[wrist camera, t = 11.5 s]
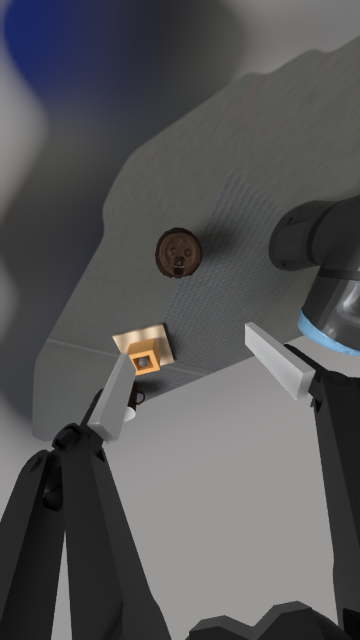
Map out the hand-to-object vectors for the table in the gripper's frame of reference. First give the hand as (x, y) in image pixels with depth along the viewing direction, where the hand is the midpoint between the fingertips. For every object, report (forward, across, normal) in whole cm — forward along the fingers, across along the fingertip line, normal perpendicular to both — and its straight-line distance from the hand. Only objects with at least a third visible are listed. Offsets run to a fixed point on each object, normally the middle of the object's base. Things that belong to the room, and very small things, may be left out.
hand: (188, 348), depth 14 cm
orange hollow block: (+25, +14, +17) cm, 33 cm away
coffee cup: (+26, -2, -9) cm, 28 cm away
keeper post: (+26, +14, +17) cm, 34 cm away
